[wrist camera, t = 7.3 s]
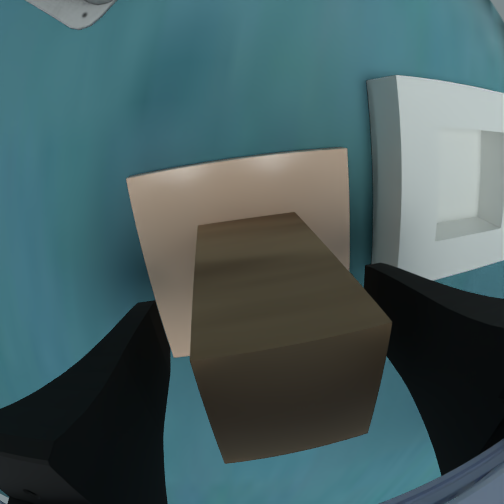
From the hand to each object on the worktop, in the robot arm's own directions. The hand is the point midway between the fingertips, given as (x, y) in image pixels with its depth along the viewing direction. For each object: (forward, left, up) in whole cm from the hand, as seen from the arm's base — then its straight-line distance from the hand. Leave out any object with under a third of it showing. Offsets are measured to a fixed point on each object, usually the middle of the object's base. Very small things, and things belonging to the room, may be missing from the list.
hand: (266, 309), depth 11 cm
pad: (0, 0, -4) cm, 4 cm away
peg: (0, 0, -4) cm, 4 cm away
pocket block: (+3, -10, -4) cm, 12 cm away
